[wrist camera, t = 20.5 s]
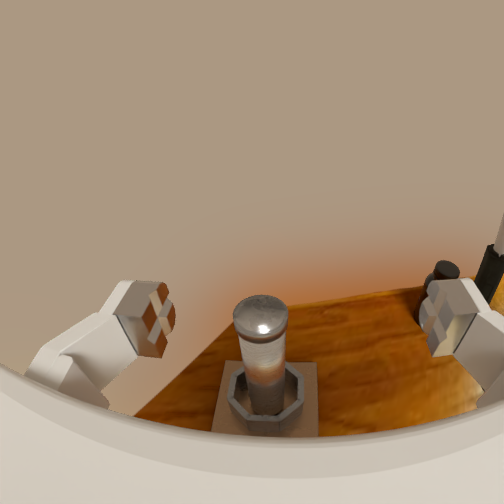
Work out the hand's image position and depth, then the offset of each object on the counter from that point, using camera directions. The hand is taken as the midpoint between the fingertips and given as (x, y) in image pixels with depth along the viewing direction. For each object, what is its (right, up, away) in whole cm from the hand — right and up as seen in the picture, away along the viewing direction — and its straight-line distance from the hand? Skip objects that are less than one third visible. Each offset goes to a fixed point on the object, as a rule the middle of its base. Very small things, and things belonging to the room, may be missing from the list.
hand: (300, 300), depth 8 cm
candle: (+47, -10, +38) cm, 61 cm away
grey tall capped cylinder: (+1, -19, +27) cm, 33 cm away
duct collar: (+1, -20, +28) cm, 34 cm away
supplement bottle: (+32, -11, +37) cm, 51 cm away
